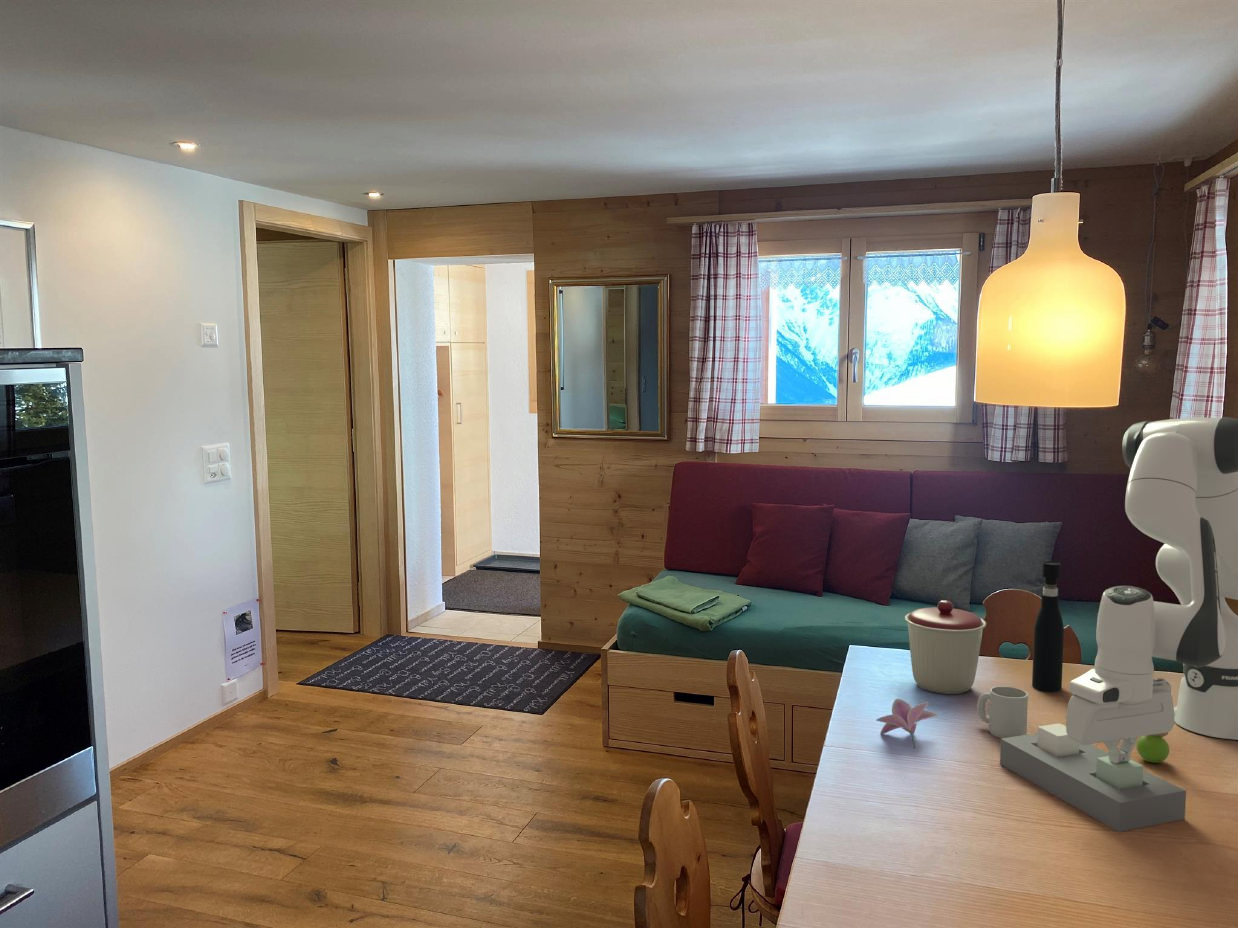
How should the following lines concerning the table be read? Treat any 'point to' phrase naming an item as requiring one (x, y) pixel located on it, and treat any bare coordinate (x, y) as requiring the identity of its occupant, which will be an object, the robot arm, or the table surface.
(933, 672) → the canister
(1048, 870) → the table surface
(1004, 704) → the cup
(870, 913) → the table surface
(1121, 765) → the pale green cube
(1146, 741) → the snail figurine
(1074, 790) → the key console
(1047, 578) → the wine bottle
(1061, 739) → the white key
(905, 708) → the lily
